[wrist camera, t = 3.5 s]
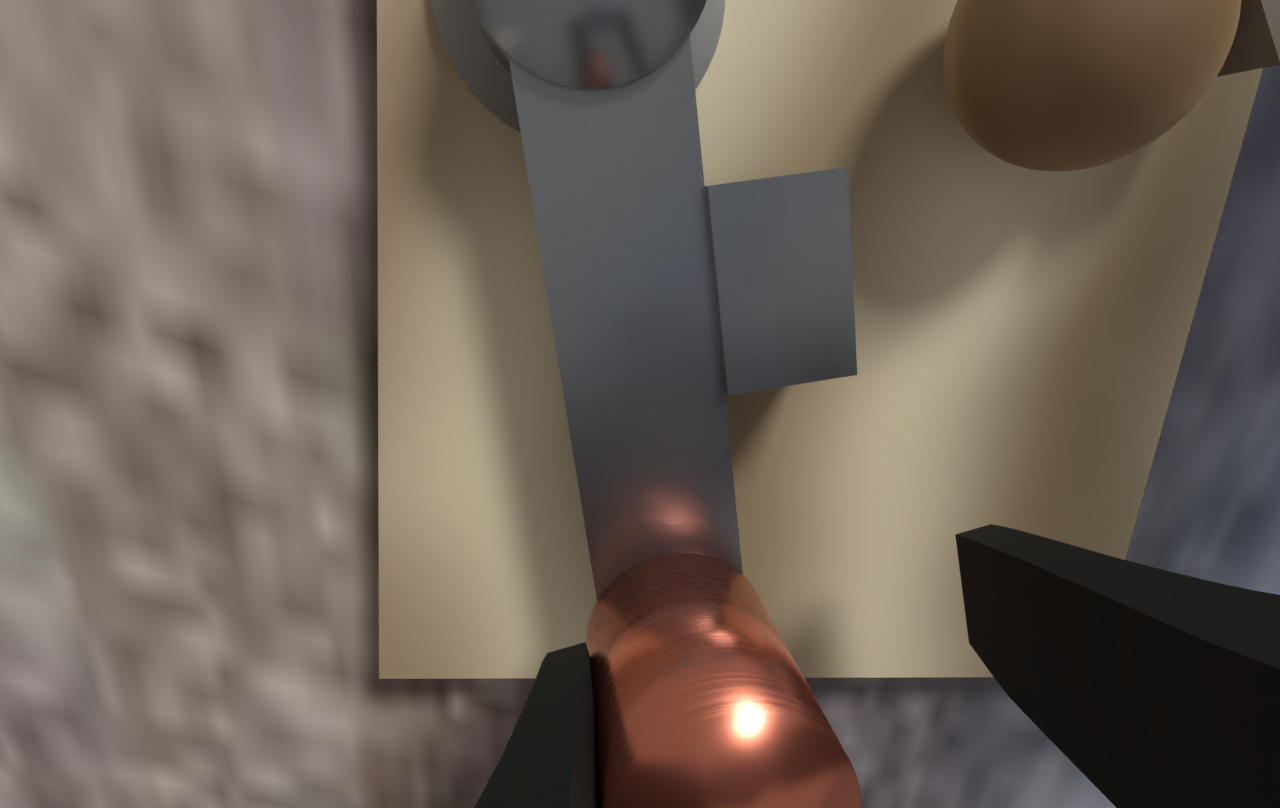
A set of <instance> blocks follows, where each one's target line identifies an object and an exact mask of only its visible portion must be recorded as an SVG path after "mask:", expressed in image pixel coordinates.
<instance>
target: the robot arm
mask: <svg viewBox="0 0 1280 808" xmlns="http://www.w3.org/2000/svg"><path fill="white" fill-rule="evenodd" d="M955 537H956V544H957V552H958V560H959V568H960V576H961V584H962V592H963V600H964V607H965V615H966V623H967V631H968V639H969V644H970V645H971V646H972V648H973V649H974V651H975V652H976V653H977V655H978V656H979V658H980V659H981V660H982V662H983V663H984V664H985V666H986V667H987V669H988V670H989V671H990V673H991V674H992V675H993V677H994V678H995V679H996V680H997V682H998V683H999V684H1000V686H1001V687H1002V688H1003V689H1004V691H1005V692H1006V693H1007V695H1008V696H1009V697H1010V698H1011V699H1012V700H1013V701H1014V702H1015V703H1016V704H1017V706H1018V707H1019V708H1020V709H1021V710H1022V711H1023V712H1024V713H1025V714H1026V715H1027V716H1028V717H1029V718H1030V719H1031V720H1032V721H1033V722H1034V723H1035V724H1036V725H1037V726H1038V728H1039V729H1040V730H1041V731H1042V732H1043V733H1044V734H1045V735H1046V736H1047V737H1048V738H1049V739H1050V740H1051V741H1052V742H1053V743H1054V744H1055V745H1056V746H1057V747H1058V748H1059V749H1060V750H1061V751H1062V752H1063V753H1064V754H1065V755H1066V756H1067V757H1068V758H1069V759H1070V760H1071V761H1072V762H1073V764H1074V765H1075V766H1076V767H1077V768H1078V769H1079V770H1080V771H1081V772H1082V773H1083V774H1084V775H1085V776H1086V777H1087V778H1088V779H1089V780H1090V781H1091V782H1092V783H1093V784H1094V785H1095V786H1096V787H1097V788H1098V789H1099V790H1100V791H1101V792H1102V793H1103V794H1104V795H1105V796H1106V797H1107V798H1108V799H1109V800H1110V801H1111V802H1112V803H1113V804H1114V805H1115V807H1116V808H1280V595H1276V594H1270V593H1265V592H1259V591H1253V590H1248V589H1244V588H1239V587H1234V586H1229V585H1224V584H1220V583H1215V582H1211V581H1207V580H1203V579H1198V578H1194V577H1190V576H1186V575H1181V574H1177V573H1173V572H1169V571H1165V570H1161V569H1157V568H1153V567H1149V566H1145V565H1142V564H1138V563H1134V562H1131V561H1127V560H1123V559H1120V558H1116V557H1112V556H1109V555H1105V554H1102V553H1098V552H1095V551H1091V550H1088V549H1084V548H1081V547H1077V546H1074V545H1070V544H1067V543H1063V542H1060V541H1056V540H1053V539H1049V538H1046V537H1042V536H1039V535H1035V534H1031V533H1028V532H1024V531H1020V530H1016V529H1012V528H1008V527H1003V526H998V525H993V524H990V525H986V526H983V527H979V528H976V529H973V530H969V531H966V532H962V533H959V534H955ZM474 808H601V800H600V789H599V775H598V758H597V740H596V719H595V697H594V688H593V679H592V669H591V660H590V655H589V652H588V648H587V645H586V642H584V643H580V644H577V645H573V646H570V647H566V648H563V649H559V650H556V651H553V652H549V653H547V654H546V656H545V658H544V659H543V661H542V663H541V666H540V668H539V671H538V674H537V676H536V679H535V682H534V684H533V687H532V689H531V692H530V694H529V697H528V699H527V702H526V704H525V706H524V709H523V711H522V713H521V716H520V718H519V720H518V722H517V724H516V727H515V729H514V731H513V733H512V735H511V737H510V740H509V742H508V744H507V746H506V748H505V750H504V753H503V755H502V757H501V759H500V761H499V763H498V765H497V766H496V768H495V770H494V772H493V774H492V776H491V778H490V779H489V781H488V783H487V785H486V787H485V789H484V791H483V793H482V794H481V796H480V798H479V800H478V802H477V804H476V806H475V807H474Z"/></svg>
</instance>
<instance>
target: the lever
mask: <svg viewBox="0 0 1280 808" xmlns="http://www.w3.org/2000/svg"><path fill="white" fill-rule="evenodd" d="M706 1H707V0H471V2H472V5H473V8H474V10H475V13H476V16H477V19H478V22H479V24H480V27H481V30H482V33H483V35H484V37H485V39H486V41H487V43H488V45H489V47H490V48H491V50H492V51H493V53H494V54H495V56H496V57H497V59H498V60H499V61H500V62H501V64H502V65H503V66H504V67H505V68H506V69H507V71H508V72H509V73H510V74H511V76H512V82H513V88H514V94H515V100H516V107H517V113H518V119H519V125H520V131H521V137H522V143H523V150H524V156H525V162H526V168H527V174H528V180H529V186H530V193H531V199H532V205H533V211H534V217H535V223H536V229H537V235H538V242H539V248H540V254H541V260H542V266H543V272H544V278H545V285H546V291H547V297H548V303H549V309H550V315H551V321H552V328H553V334H554V340H555V346H556V352H557V358H558V364H559V370H560V377H561V383H562V389H563V395H564V401H565V407H566V413H567V420H568V426H569V432H570V438H571V444H572V450H573V456H574V463H575V469H576V475H577V481H578V487H579V493H580V499H581V505H582V512H583V518H584V524H585V530H586V536H587V542H588V548H589V555H590V561H591V567H592V573H593V579H594V585H595V591H596V598H597V602H596V604H595V606H594V608H593V610H592V613H591V615H590V618H589V621H588V626H587V631H586V645H587V648H588V652H589V655H590V660H591V669H592V679H593V688H594V697H595V719H596V740H597V758H598V775H599V789H600V800H601V808H861V796H860V788H859V783H858V779H857V776H856V773H855V770H854V768H853V766H852V764H851V762H850V760H849V758H848V757H847V755H846V753H845V751H844V749H843V748H842V746H841V744H840V742H839V740H838V738H837V737H836V735H835V733H834V731H833V729H832V728H831V726H830V724H829V722H828V720H827V719H826V717H825V715H824V713H823V711H822V709H821V708H820V706H819V704H818V702H817V700H816V699H815V697H814V695H813V693H812V691H811V690H810V688H809V686H808V684H807V682H806V681H805V679H804V677H803V675H802V673H801V671H800V670H799V668H798V666H797V664H796V662H795V661H794V659H793V657H792V655H791V653H790V652H789V650H788V648H787V646H786V644H785V642H784V641H783V639H782V637H781V635H780V633H779V632H778V630H777V628H776V626H775V624H774V623H773V621H772V619H771V617H770V615H769V613H768V612H767V610H766V608H765V606H764V604H763V603H762V601H761V599H760V597H759V595H758V594H757V592H756V590H755V589H754V587H753V586H752V584H751V583H750V582H749V580H748V579H747V578H746V577H745V576H744V575H743V570H742V560H741V550H740V540H739V530H738V520H737V509H736V499H735V489H734V479H733V469H732V459H731V449H730V438H729V428H728V418H727V408H726V398H725V393H726V394H727V395H734V394H740V393H747V392H753V391H759V390H765V389H772V388H778V387H784V386H791V385H797V384H803V383H809V382H816V381H822V380H828V379H835V378H841V377H847V376H853V375H857V357H856V335H855V313H854V291H853V269H852V247H851V225H850V203H849V181H848V167H846V168H838V169H830V170H823V171H815V172H808V173H800V174H793V175H785V176H778V177H770V178H763V179H755V180H748V181H740V182H733V183H725V184H717V185H710V186H705V185H704V175H703V164H702V154H701V144H700V134H699V124H698V114H697V103H696V93H695V83H694V73H693V63H692V53H691V43H690V33H691V32H692V30H693V28H694V27H695V25H696V24H697V22H698V20H699V18H700V15H701V13H702V11H703V9H704V7H705V4H706Z"/></svg>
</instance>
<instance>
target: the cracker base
mask: <svg viewBox="0 0 1280 808" xmlns="http://www.w3.org/2000/svg"><path fill="white" fill-rule="evenodd" d="M690 43H691V53H692V63H693V73H694V83H695V93H696V103H697V114H698V124H699V134H700V144H701V154H702V164H703V175H704V185H705V186H710V185H717V184H725V183H733V182H740V181H748V180H755V179H763V178H770V177H778V176H785V175H793V174H800V173H808V172H815V171H823V170H830V169H838V168H846V167H848V181H849V203H850V225H851V247H852V269H853V291H854V313H855V335H856V357H857V375H853V376H847V377H841V378H835V379H828V380H822V381H816V382H809V383H803V384H797V385H791V386H784V387H778V388H772V389H765V390H759V391H753V392H747V393H740V394H734V395H727V394H726V393H725V398H726V408H727V418H728V428H729V438H730V449H731V459H732V469H733V479H734V489H735V499H736V509H737V520H738V530H739V540H740V550H741V560H742V570H743V575H744V576H745V577H746V578H747V579H748V580H749V582H750V583H751V584H752V586H753V587H754V589H755V590H756V592H757V594H758V595H759V597H760V599H761V601H762V603H763V604H764V606H765V608H766V610H767V612H768V613H769V615H770V617H771V619H772V621H773V623H774V624H775V626H776V628H777V630H778V632H779V633H780V635H781V637H782V639H783V641H784V642H785V644H786V646H787V648H788V650H789V652H790V653H791V655H792V657H793V659H794V661H795V662H796V664H797V666H798V668H799V670H800V671H801V673H802V675H803V677H804V678H899V677H993V675H992V674H991V673H990V671H989V670H988V669H987V667H986V666H985V664H984V663H983V662H982V660H981V659H980V658H979V656H978V655H977V653H976V652H975V651H974V649H973V648H972V646H971V645H970V644H969V639H968V631H967V623H966V615H965V607H964V600H963V592H962V584H961V576H960V568H959V560H958V552H957V544H956V537H955V534H959V533H962V532H966V531H969V530H973V529H976V528H979V527H983V526H986V525H990V524H993V525H998V526H1003V527H1008V528H1012V529H1016V530H1020V531H1024V532H1028V533H1031V534H1035V535H1039V536H1042V537H1046V538H1049V539H1053V540H1056V541H1060V542H1063V543H1067V544H1070V545H1074V546H1077V547H1081V548H1084V549H1088V550H1091V551H1095V552H1098V553H1102V554H1105V555H1109V556H1112V557H1116V558H1120V559H1123V560H1125V559H1126V556H1127V552H1128V548H1129V545H1130V541H1131V538H1132V534H1133V531H1134V527H1135V524H1136V520H1137V516H1138V513H1139V509H1140V506H1141V502H1142V499H1143V495H1144V491H1145V488H1146V484H1147V481H1148V477H1149V474H1150V470H1151V467H1152V463H1153V459H1154V456H1155V452H1156V449H1157V445H1158V442H1159V438H1160V434H1161V431H1162V427H1163V424H1164V420H1165V417H1166V413H1167V410H1168V406H1169V402H1170V399H1171V395H1172V392H1173V388H1174V385H1175V381H1176V377H1177V374H1178V370H1179V367H1180V363H1181V360H1182V356H1183V353H1184V349H1185V345H1186V342H1187V338H1188V335H1189V331H1190V328H1191V324H1192V320H1193V317H1194V313H1195V310H1196V306H1197V303H1198V299H1199V296H1200V292H1201V288H1202V285H1203V281H1204V278H1205V274H1206V271H1207V267H1208V263H1209V260H1210V256H1211V253H1212V249H1213V246H1214V242H1215V239H1216V235H1217V231H1218V228H1219V224H1220V221H1221V217H1222V214H1223V210H1224V206H1225V203H1226V199H1227V196H1228V192H1229V189H1230V185H1231V181H1232V178H1233V174H1234V171H1235V167H1236V164H1237V160H1238V157H1239V153H1240V149H1241V146H1242V142H1243V139H1244V135H1245V132H1246V128H1247V124H1248V121H1249V117H1250V114H1251V110H1252V107H1253V103H1254V100H1255V96H1256V92H1257V89H1258V85H1259V82H1260V78H1261V75H1262V71H1263V68H1264V67H1270V66H1275V65H1280V0H707V1H706V4H705V7H704V9H703V11H702V13H701V15H700V18H699V20H698V22H697V24H696V25H695V27H694V28H693V30H692V32H691V33H690ZM377 192H378V501H379V679H491V678H536V676H537V674H538V671H539V668H540V666H541V663H542V661H543V659H544V658H545V656H546V654H547V653H549V652H553V651H556V650H559V649H563V648H566V647H570V646H573V645H577V644H580V643H584V642H586V631H587V626H588V621H589V618H590V615H591V613H592V610H593V608H594V606H595V604H596V602H597V598H596V591H595V585H594V579H593V573H592V567H591V561H590V555H589V548H588V542H587V536H586V530H585V524H584V518H583V512H582V505H581V499H580V493H579V487H578V481H577V475H576V469H575V463H574V456H573V450H572V444H571V438H570V432H569V426H568V420H567V413H566V407H565V401H564V395H563V389H562V383H561V377H560V370H559V364H558V358H557V352H556V346H555V340H554V334H553V328H552V321H551V315H550V309H549V303H548V297H547V291H546V285H545V278H544V272H543V266H542V260H541V254H540V248H539V242H538V235H537V229H536V223H535V217H534V211H533V205H532V199H531V193H530V186H529V180H528V174H527V168H526V162H525V156H524V150H523V143H522V137H521V131H520V125H519V119H518V113H517V107H516V100H515V94H514V88H513V82H512V76H511V74H510V73H509V72H508V71H507V69H506V68H505V67H504V66H503V65H502V64H501V62H500V61H499V60H498V59H497V57H496V56H495V54H494V53H493V51H492V50H491V48H490V47H489V45H488V43H487V41H486V39H485V37H484V35H483V33H482V30H481V27H480V24H479V22H478V19H477V16H476V13H475V10H474V8H473V5H472V2H471V0H377Z"/></svg>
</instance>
